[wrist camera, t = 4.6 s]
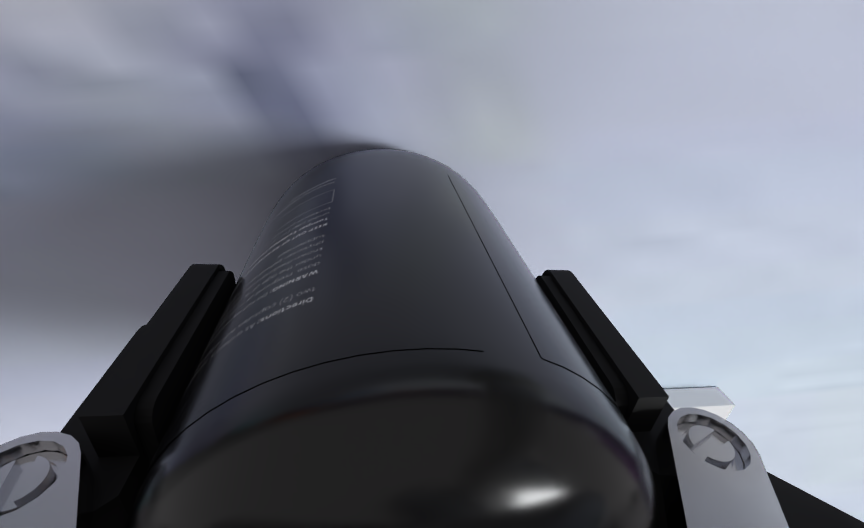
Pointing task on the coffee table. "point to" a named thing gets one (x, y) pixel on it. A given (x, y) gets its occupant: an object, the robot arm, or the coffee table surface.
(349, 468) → the supplement bottle
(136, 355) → the robot arm
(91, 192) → the coffee table surface
